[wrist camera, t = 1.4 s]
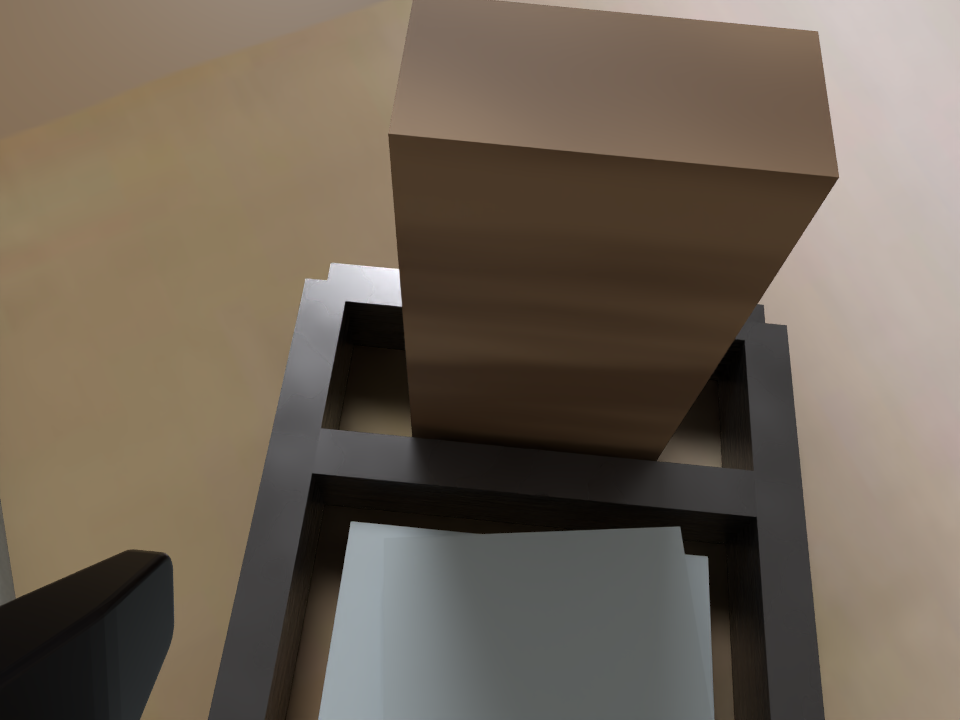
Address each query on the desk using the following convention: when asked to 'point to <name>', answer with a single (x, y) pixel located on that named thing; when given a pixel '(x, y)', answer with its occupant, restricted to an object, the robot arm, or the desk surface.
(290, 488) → the dark grey divided tray
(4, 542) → the grey picture frame
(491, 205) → the walnut panel
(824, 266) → the desk surface
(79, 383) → the desk surface
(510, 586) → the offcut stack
